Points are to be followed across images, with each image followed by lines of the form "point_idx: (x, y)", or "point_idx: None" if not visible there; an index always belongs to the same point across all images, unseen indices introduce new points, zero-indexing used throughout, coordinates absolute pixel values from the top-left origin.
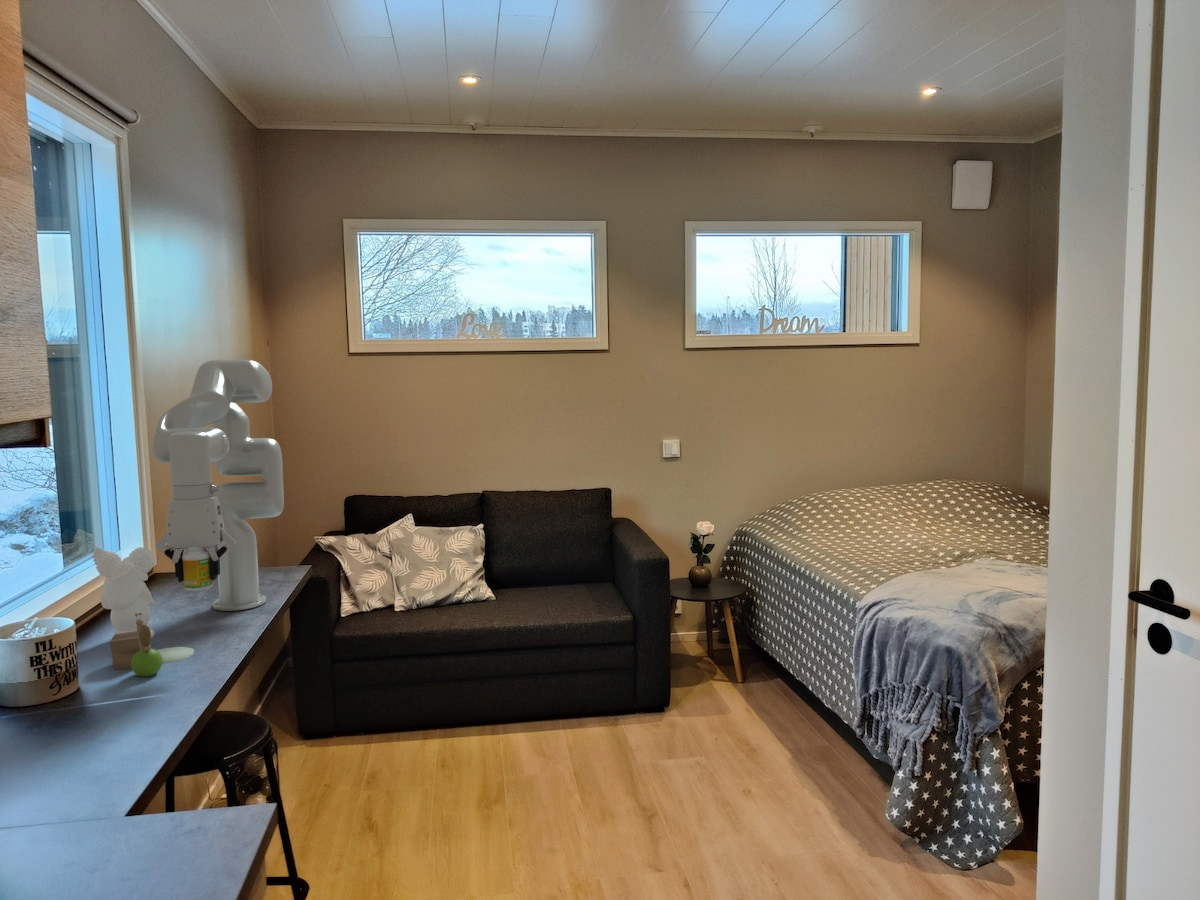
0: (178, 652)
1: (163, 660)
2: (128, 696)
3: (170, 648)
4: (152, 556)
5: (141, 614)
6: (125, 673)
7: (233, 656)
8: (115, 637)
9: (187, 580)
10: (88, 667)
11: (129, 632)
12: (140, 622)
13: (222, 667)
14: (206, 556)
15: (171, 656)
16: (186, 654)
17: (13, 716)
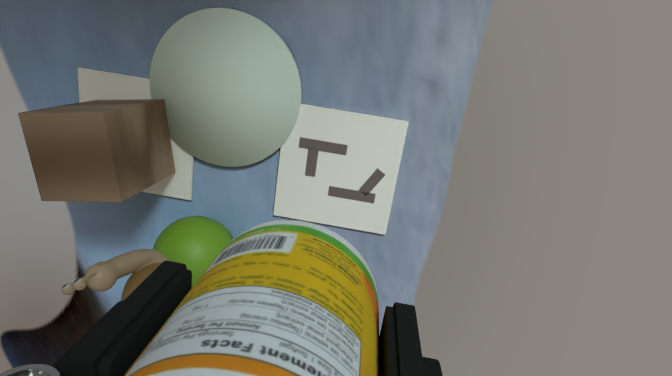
0: (252, 79)
1: (223, 143)
2: None
3: (217, 20)
4: None
5: (86, 284)
6: (147, 196)
7: (423, 168)
8: (38, 157)
9: None
10: (25, 101)
11: (65, 117)
12: (106, 289)
13: (395, 251)
14: None
15: (239, 113)
16: (281, 111)
17: (16, 364)
